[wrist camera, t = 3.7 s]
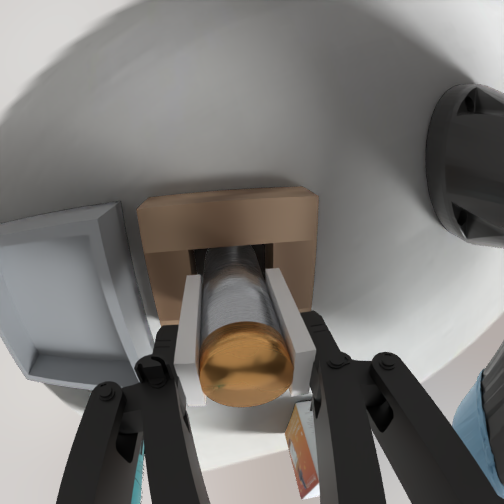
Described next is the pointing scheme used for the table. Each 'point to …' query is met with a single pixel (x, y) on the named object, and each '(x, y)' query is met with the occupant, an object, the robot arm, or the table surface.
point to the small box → (303, 449)
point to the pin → (240, 332)
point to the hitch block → (228, 237)
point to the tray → (72, 298)
